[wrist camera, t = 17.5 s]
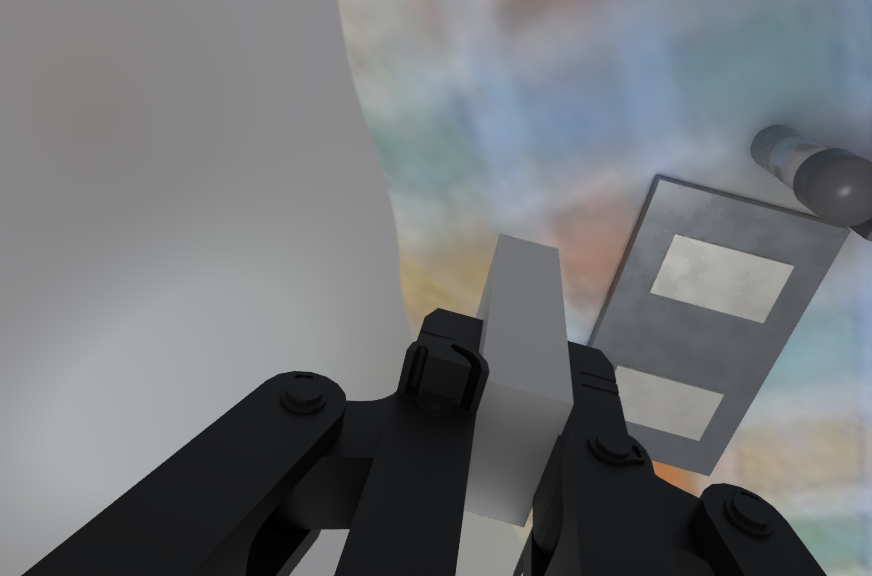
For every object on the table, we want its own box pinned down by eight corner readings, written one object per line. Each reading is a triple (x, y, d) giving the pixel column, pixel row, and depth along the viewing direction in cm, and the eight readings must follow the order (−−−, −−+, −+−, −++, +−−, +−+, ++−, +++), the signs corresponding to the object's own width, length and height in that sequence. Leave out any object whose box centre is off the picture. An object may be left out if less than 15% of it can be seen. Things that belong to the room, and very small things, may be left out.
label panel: (882, 151, 43) (957, 184, 35) (705, 464, 56) (732, 538, 48) (686, 100, 43) (718, 122, 36) (555, 423, 56) (559, 489, 49)
